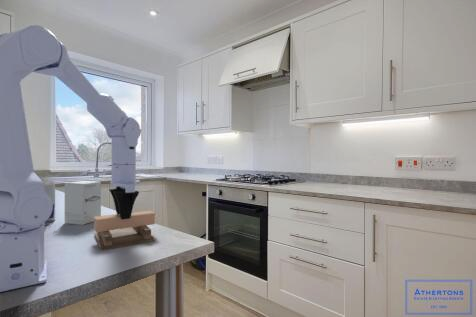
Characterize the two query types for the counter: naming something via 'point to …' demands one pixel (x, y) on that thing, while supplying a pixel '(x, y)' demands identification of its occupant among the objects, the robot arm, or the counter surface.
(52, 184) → the energy drink
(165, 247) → the counter surface
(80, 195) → the supplement box
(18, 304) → the counter surface
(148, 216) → the clay strip
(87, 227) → the counter surface
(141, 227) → the brown wooden stand
